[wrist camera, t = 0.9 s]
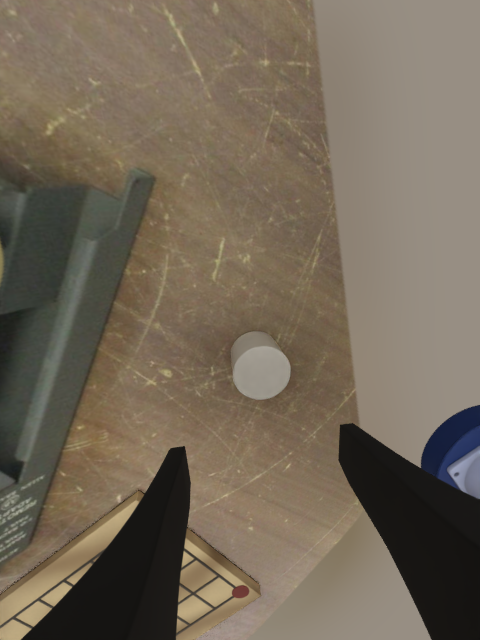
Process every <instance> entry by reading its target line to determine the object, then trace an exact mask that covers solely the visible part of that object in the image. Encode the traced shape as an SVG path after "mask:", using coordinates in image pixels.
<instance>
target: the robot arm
mask: <svg viewBox="0 0 480 640" xmlns="http://www.w3.org/2000/svg"><path fill="white" fill-rule="evenodd" d="M339 462H340V465H341V467H342V469H343V471H344V474H345V476H346V478H347V480H348V482H349V484H350V486H351V487H352V489H353V491H354V492H355V494H356V496H357V498H358V499H359V501H360V503H361V504H362V506H363V508H364V509H365V511H366V512H367V514H368V516H369V517H370V519H371V521H372V522H373V524H374V526H375V527H376V529H377V531H378V532H379V534H380V536H381V537H382V539H383V541H384V543H385V544H386V546H387V548H388V550H389V552H390V554H391V556H392V558H393V560H394V562H395V563H396V566H397V568H398V570H399V572H400V574H401V576H402V578H403V580H404V582H405V584H406V586H407V588H408V590H409V592H410V594H411V596H412V598H413V600H414V603H415V605H416V607H417V609H418V611H419V613H420V615H421V617H422V619H423V622H424V624H425V626H426V628H427V630H428V633H429V635H430V637H431V639H432V640H480V446H478V447H477V448H475V449H474V450H472V451H471V452H469V453H468V454H466V455H465V456H463V457H461V458H460V459H458V460H457V461H455V462H454V463H452V464H451V465H449V466H448V467H447V472H448V473H449V475H450V476H451V478H452V479H453V480H454V482H455V483H456V485H457V486H458V488H459V489H460V490H459V489H457V488H455V487H453V486H451V485H450V484H448V483H446V482H444V481H442V480H440V479H438V478H436V477H435V476H433V475H431V474H429V473H428V472H426V471H424V470H423V469H421V468H419V467H418V466H416V465H414V464H413V463H411V462H409V461H408V460H406V459H405V458H403V457H402V456H400V455H398V454H397V453H395V452H394V451H392V450H391V449H389V448H388V447H386V446H385V445H384V444H382V443H381V442H379V441H378V440H376V439H375V438H373V437H372V436H371V435H369V434H368V433H366V432H365V431H363V430H362V429H361V428H359V427H358V426H356V425H355V424H353V423H351V424H343V425H340V439H339ZM190 486H191V482H190V475H189V469H188V463H187V457H186V450H185V446H183V447H176V448H171V449H170V450H169V451H168V453H167V455H166V457H165V459H164V461H163V463H162V465H161V467H160V469H159V471H158V472H157V474H156V476H155V478H154V479H153V481H152V483H151V484H150V486H149V488H148V489H147V491H146V493H145V494H144V496H143V497H142V499H141V501H140V502H139V504H138V505H137V507H136V508H135V510H134V511H133V513H132V514H131V516H130V517H129V518H128V520H127V521H126V523H125V524H124V525H123V527H122V528H121V530H120V531H119V532H118V534H117V535H116V536H115V537H114V539H113V540H112V541H111V543H110V544H109V545H108V546H107V548H106V549H105V550H104V551H103V552H102V554H101V555H100V556H99V557H98V559H97V560H96V561H95V562H94V563H93V565H92V566H91V567H90V568H89V569H88V570H87V572H86V573H85V574H84V575H83V576H82V577H81V578H80V579H79V580H78V581H77V583H76V584H75V585H74V586H73V587H72V588H71V589H70V590H69V591H68V592H67V593H66V595H65V596H64V597H63V598H62V599H61V600H60V601H59V602H58V603H57V604H56V605H55V606H54V607H53V608H52V609H51V610H50V611H49V612H48V613H47V614H46V615H45V616H44V617H43V618H42V619H41V620H40V621H39V622H38V623H37V624H36V625H35V626H34V627H33V628H32V629H31V630H30V631H29V632H28V633H27V634H26V635H25V636H24V637H23V638H22V639H21V640H176V631H177V614H178V598H179V585H180V576H181V568H182V560H183V553H184V546H185V539H186V532H187V524H188V517H189V509H190Z"/></svg>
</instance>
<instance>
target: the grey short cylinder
mask: <svg viewBox="0 0 480 640" xmlns="http://www.w3.org/2000/svg"><path fill="white" fill-rule="evenodd" d="M230 359H231V367H232V375H233V381H234V384H235V386H236V387H237V389H238V390H239V391H240V392H241V393H242V394H243V395H245V396H247V397H249V398H252V399H257V400H263V399H268V398H271V397H274V396H276V395H277V394H279V393H280V392H281V391H282V390H283V389H284V388H285V387H286V385H287V384H288V382H289V379H290V375H291V367H290V363H289V361H288V359H287V357H286V356H285V354H284V353H283V351H282V350H281V348H280V346H279V345H278V343H277V342H276V340H275V339H274V338H273V337H272V336H270V335H269V334H267V333H265V332H261V331H252V332H248V333H245V334H243V335H242V336H240V337H239V338H238V339H237V340H236V341H235V342H234V344H233V346H232V348H231V352H230Z"/></svg>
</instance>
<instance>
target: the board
mask: <svg viewBox="0 0 480 640" xmlns="http://www.w3.org/2000/svg"><path fill="white" fill-rule="evenodd" d="M143 496H144V494H143V493H142V492H141V491H138V492H136V493H135V494H134V495H132V496H131V497H130V498H128V499H127V500H126V501H124V502H123V503H122V504H120V505H119V506H118V507H116V508H115V509H114V510H112V511H111V512H110V513H108V514H107V515H106V516H104V517H103V518H102V519H100V520H99V521H98V522H96V523H95V524H94V525H92V526H91V527H90V528H88V529H87V530H86V531H84V532H83V533H82V534H80V535H79V536H78V537H76V538H75V539H74V540H72V541H71V542H70V543H68V544H67V545H66V546H64V547H63V548H62V549H60V550H59V551H58V552H56V553H55V554H54V555H52V556H51V557H50V558H48V559H47V560H46V561H44V562H43V563H42V564H40V565H39V566H38V567H36V568H35V569H34V570H32V571H31V572H30V573H28V574H27V575H26V576H24V577H23V578H22V579H20V580H19V581H18V582H16V583H15V584H14V585H12V586H11V587H10V588H8V589H7V590H6V591H4V592H3V593H2V594H0V640H21V639H22V638H23V637H24V636H25V635H26V634H27V633H28V632H29V631H30V630H31V629H32V628H33V627H34V626H35V625H36V624H37V623H38V622H39V621H40V620H41V619H42V618H43V617H44V616H45V615H46V614H47V613H48V612H49V611H50V610H51V609H52V608H53V607H54V606H55V605H56V604H57V603H58V602H59V601H60V600H61V599H62V598H63V597H64V596H65V595H66V593H67V592H68V591H69V590H70V589H71V588H72V587H73V586H74V585H75V584H76V583H77V581H78V580H79V579H80V578H81V577H82V576H83V575H84V574H85V573H86V572H87V570H88V569H89V568H90V567H91V566H92V565H93V563H94V562H95V561H96V560H97V559H98V557H99V556H100V555H101V554H102V552H103V551H104V550H105V549H106V548H107V546H108V545H109V544H110V543H111V541H112V540H113V539H114V537H115V536H116V535H117V534H118V532H119V531H120V530H121V528H122V527H123V525H124V524H125V523H126V521H127V520H128V518H129V517H130V516H131V514H132V513H133V511H134V510H135V508H136V507H137V505H138V504H139V502H140V501H141V499H142V497H143ZM260 596H261V593H260V585H259V584H258V583H257V582H255V581H254V580H253V579H252V578H250V577H249V576H248V575H246V574H245V573H244V572H243V571H241V570H240V569H239V568H238V567H236V566H235V565H234V564H232V563H231V562H230V561H229V560H227V559H226V558H225V557H224V556H222V555H221V554H220V553H218V552H217V551H216V550H215V549H213V548H212V547H211V546H210V545H208V544H207V543H206V542H204V541H203V540H202V539H201V538H199V537H198V536H197V535H195V534H194V533H193V532H192V531H190V530H189V529H188V528H187V532H186V539H185V546H184V553H183V560H182V568H181V576H180V585H179V598H178V614H177V631H176V640H195V639H196V638H198V637H199V636H201V635H202V634H204V633H205V632H207V631H208V630H210V629H211V628H213V627H215V626H216V625H218V624H219V623H221V622H222V621H224V620H225V619H227V618H228V617H230V616H231V615H233V614H234V613H236V612H237V611H239V610H240V609H242V608H243V607H245V606H247V605H248V604H250V603H251V602H253V601H254V600H256V599H257V598H259V597H260Z"/></svg>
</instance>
